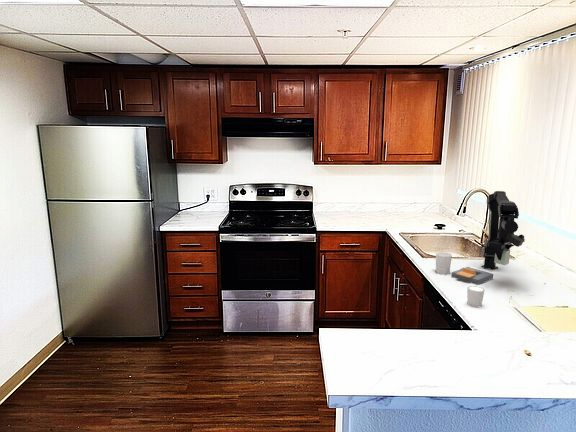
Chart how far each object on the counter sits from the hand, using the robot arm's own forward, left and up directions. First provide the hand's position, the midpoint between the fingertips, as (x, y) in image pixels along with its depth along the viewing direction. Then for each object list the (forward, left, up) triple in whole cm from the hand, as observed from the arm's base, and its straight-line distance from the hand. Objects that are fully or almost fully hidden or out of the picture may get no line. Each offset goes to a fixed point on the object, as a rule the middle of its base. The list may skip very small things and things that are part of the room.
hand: (501, 259), depth 198 cm
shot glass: (+36, +7, -12) cm, 38 cm away
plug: (0, 0, -2) cm, 2 cm away
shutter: (+11, -11, -9) cm, 18 cm away
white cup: (+10, -25, -12) cm, 30 cm away
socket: (+5, -11, -12) cm, 17 cm away
